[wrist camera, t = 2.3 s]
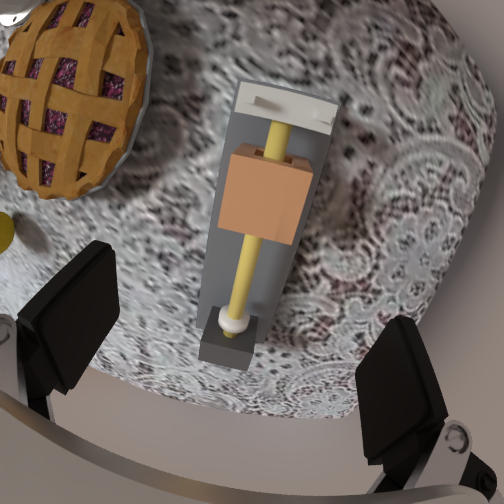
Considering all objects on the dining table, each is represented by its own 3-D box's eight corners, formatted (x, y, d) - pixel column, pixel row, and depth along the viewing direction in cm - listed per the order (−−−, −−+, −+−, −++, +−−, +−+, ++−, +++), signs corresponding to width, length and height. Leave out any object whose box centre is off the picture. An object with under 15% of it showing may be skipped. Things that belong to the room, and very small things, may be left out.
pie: (9, 171, 25) (-18, 184, 21) (35, 6, 14) (6, 3, 10) (142, 213, 26) (118, 236, 22) (200, -9, 16) (181, -30, 11)
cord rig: (240, 78, 19) (221, 68, 13) (339, 103, 19) (361, 103, 13) (197, 322, 32) (180, 368, 26) (263, 338, 33) (258, 386, 27)
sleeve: (243, 142, 21) (231, 153, 16) (307, 158, 21) (313, 173, 16) (230, 201, 23) (217, 227, 19) (290, 216, 23) (291, 245, 19)
